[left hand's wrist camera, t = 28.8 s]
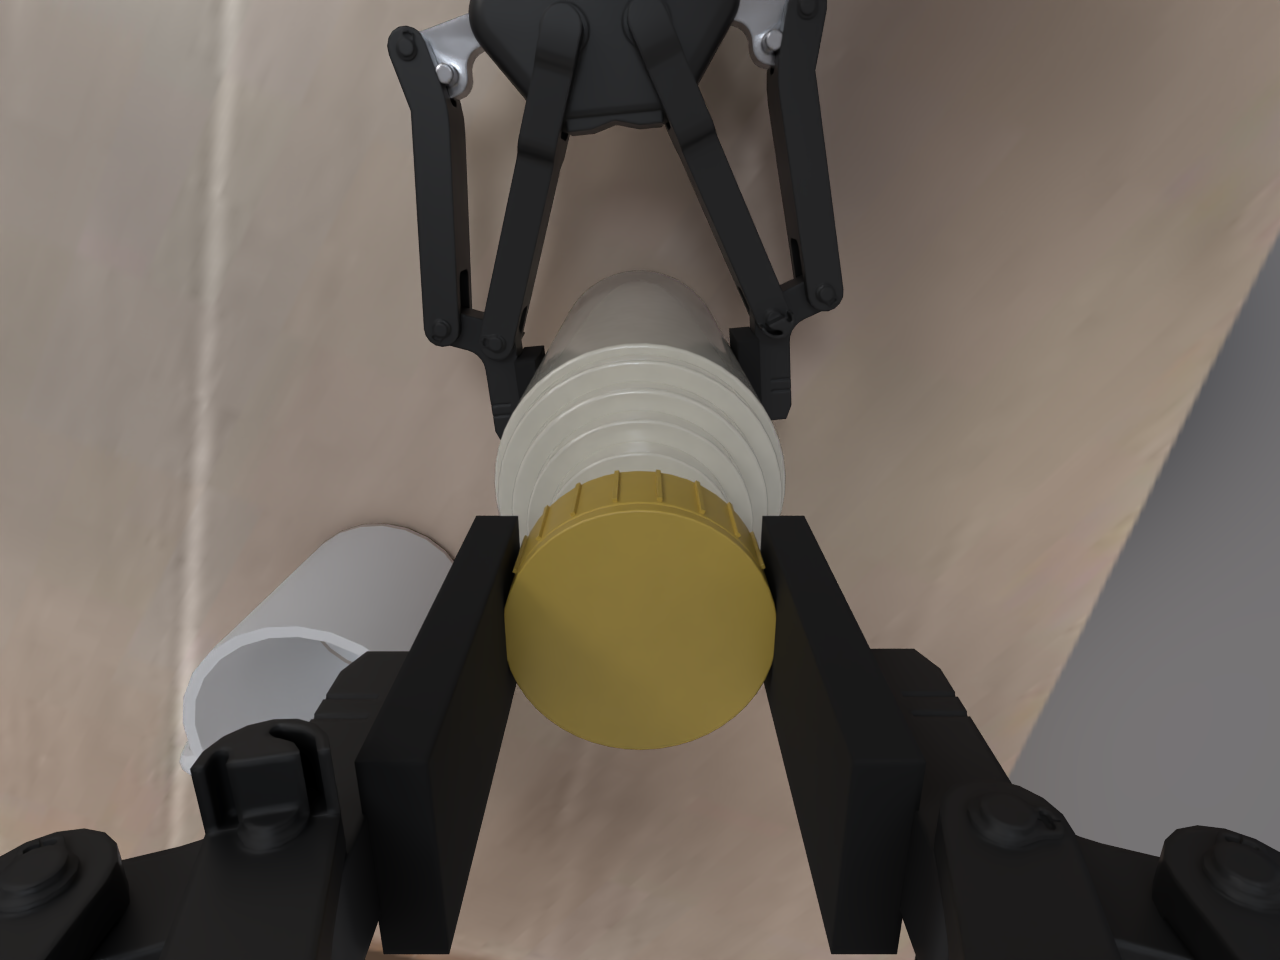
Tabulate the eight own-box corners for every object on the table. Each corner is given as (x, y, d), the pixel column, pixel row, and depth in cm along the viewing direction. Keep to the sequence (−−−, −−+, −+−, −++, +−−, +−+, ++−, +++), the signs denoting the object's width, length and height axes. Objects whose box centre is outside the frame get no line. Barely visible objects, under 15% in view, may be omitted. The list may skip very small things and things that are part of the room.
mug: (420, 483, 37) (342, 588, 27) (512, 634, 40) (471, 778, 30) (224, 573, 39) (85, 702, 29) (325, 712, 41) (230, 873, 32)
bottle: (753, 342, 35) (932, 589, 14) (649, 460, 37) (663, 839, 15) (629, 234, 33) (609, 321, 12) (527, 363, 35) (353, 636, 14)
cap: (768, 465, 14) (786, 505, 12) (759, 686, 15) (775, 750, 14) (507, 469, 14) (488, 510, 12) (525, 690, 15) (510, 754, 14)
